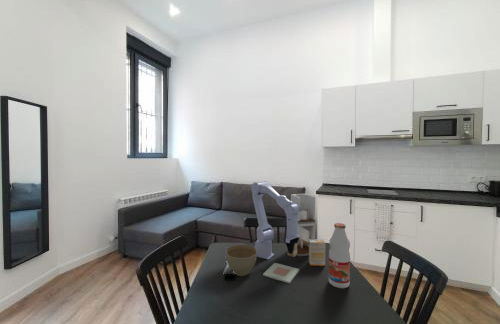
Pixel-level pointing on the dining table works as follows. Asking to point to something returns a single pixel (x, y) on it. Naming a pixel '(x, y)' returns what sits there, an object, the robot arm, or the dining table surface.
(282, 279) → the sage board
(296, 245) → the maple block
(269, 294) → the dining table surface
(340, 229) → the fruit juice
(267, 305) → the dining table surface
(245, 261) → the planter bowl
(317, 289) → the dining table surface
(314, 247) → the supplement box
